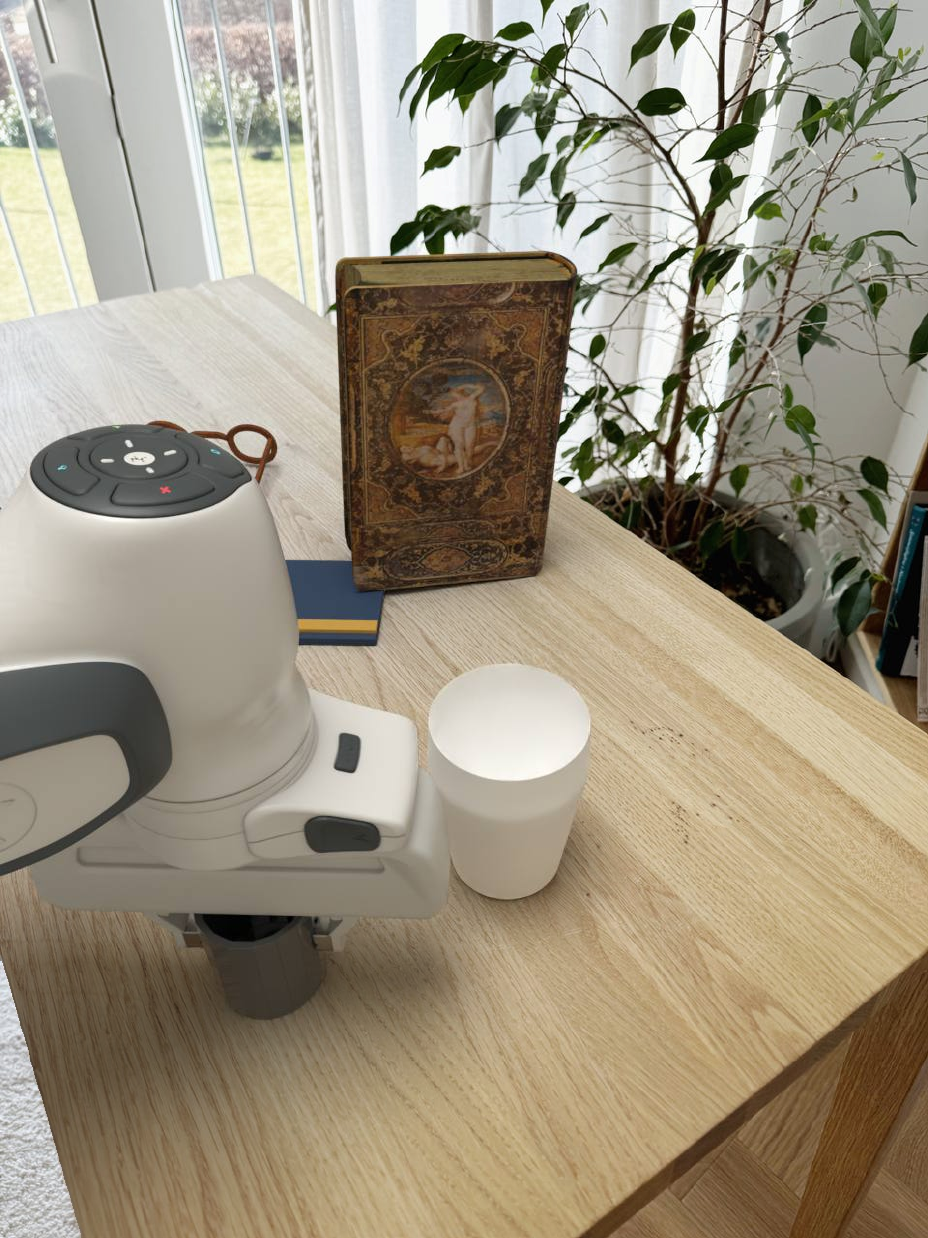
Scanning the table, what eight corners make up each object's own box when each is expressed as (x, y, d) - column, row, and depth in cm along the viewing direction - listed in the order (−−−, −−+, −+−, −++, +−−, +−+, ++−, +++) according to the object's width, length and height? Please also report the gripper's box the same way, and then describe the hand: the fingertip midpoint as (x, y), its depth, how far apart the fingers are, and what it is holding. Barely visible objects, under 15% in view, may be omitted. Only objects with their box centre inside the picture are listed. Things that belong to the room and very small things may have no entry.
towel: (94, 641, 75) (90, 630, 75) (132, 563, 83) (129, 553, 82) (376, 646, 75) (375, 635, 74) (388, 567, 82) (388, 556, 81)
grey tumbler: (205, 1018, 52) (179, 947, 47) (230, 919, 56) (208, 845, 52) (317, 1021, 52) (301, 950, 47) (332, 922, 56) (319, 848, 52)
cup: (469, 942, 55) (467, 807, 47) (410, 825, 61) (400, 689, 54) (606, 885, 58) (626, 749, 50) (537, 779, 64) (544, 643, 56)
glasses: (281, 466, 95) (274, 420, 92) (245, 543, 85) (236, 495, 82) (151, 460, 96) (140, 414, 93) (101, 536, 86) (86, 488, 83)
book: (532, 536, 85) (563, 249, 69) (549, 574, 81) (586, 279, 65) (345, 553, 82) (332, 257, 66) (353, 593, 78) (341, 288, 62)
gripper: (-40, 819, 41) (53, 987, 50) (441, 829, 40) (449, 999, 49) (17, 712, 46) (93, 883, 55) (448, 719, 45) (454, 892, 54)
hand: (265, 938), depth 52 cm, fingers closed on grey tumbler, 6 cm apart
